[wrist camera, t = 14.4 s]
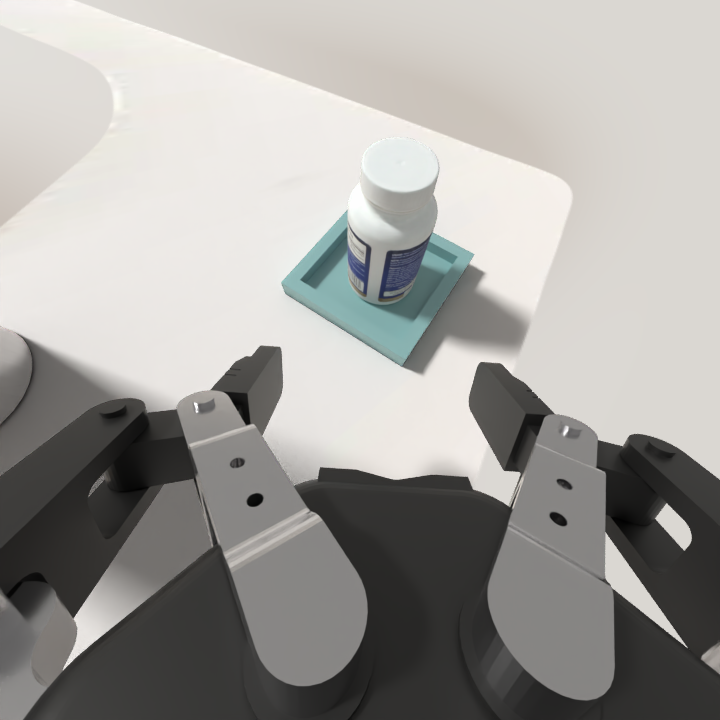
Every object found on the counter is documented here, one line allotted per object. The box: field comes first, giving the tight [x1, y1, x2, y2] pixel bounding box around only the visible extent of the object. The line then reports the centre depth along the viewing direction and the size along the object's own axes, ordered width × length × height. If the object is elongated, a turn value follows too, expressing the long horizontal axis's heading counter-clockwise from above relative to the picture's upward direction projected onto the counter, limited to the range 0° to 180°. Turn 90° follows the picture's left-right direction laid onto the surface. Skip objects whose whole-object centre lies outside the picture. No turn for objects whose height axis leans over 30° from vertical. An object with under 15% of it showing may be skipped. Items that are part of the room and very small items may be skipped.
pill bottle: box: [347, 137, 439, 305], centre depth 19 cm, size 5×5×10 cm
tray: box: [281, 210, 474, 366], centre depth 24 cm, size 11×11×2 cm
